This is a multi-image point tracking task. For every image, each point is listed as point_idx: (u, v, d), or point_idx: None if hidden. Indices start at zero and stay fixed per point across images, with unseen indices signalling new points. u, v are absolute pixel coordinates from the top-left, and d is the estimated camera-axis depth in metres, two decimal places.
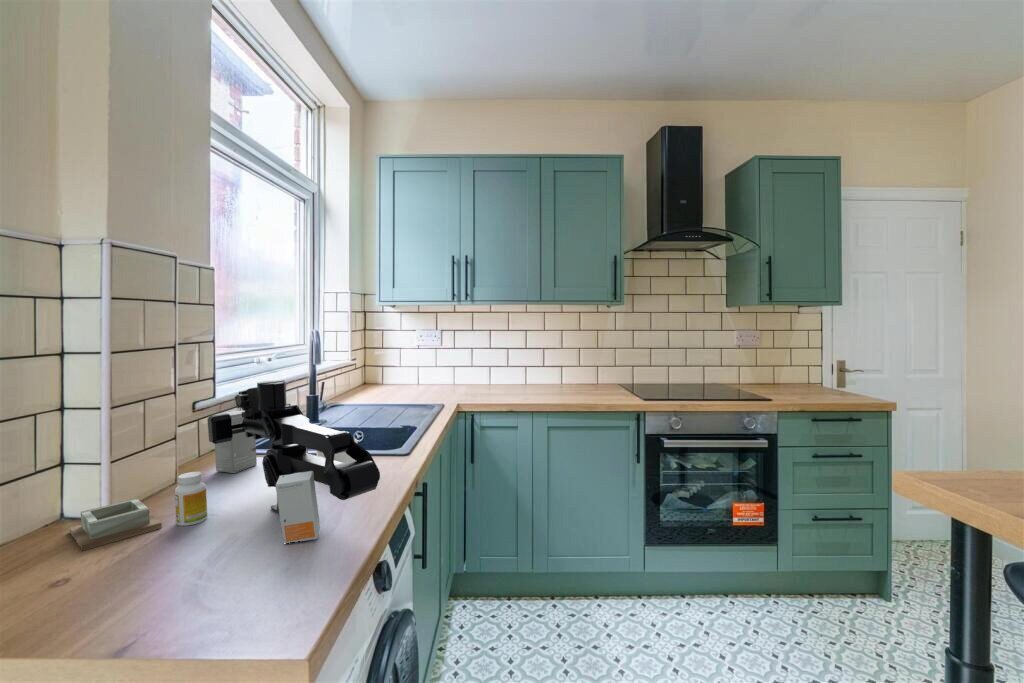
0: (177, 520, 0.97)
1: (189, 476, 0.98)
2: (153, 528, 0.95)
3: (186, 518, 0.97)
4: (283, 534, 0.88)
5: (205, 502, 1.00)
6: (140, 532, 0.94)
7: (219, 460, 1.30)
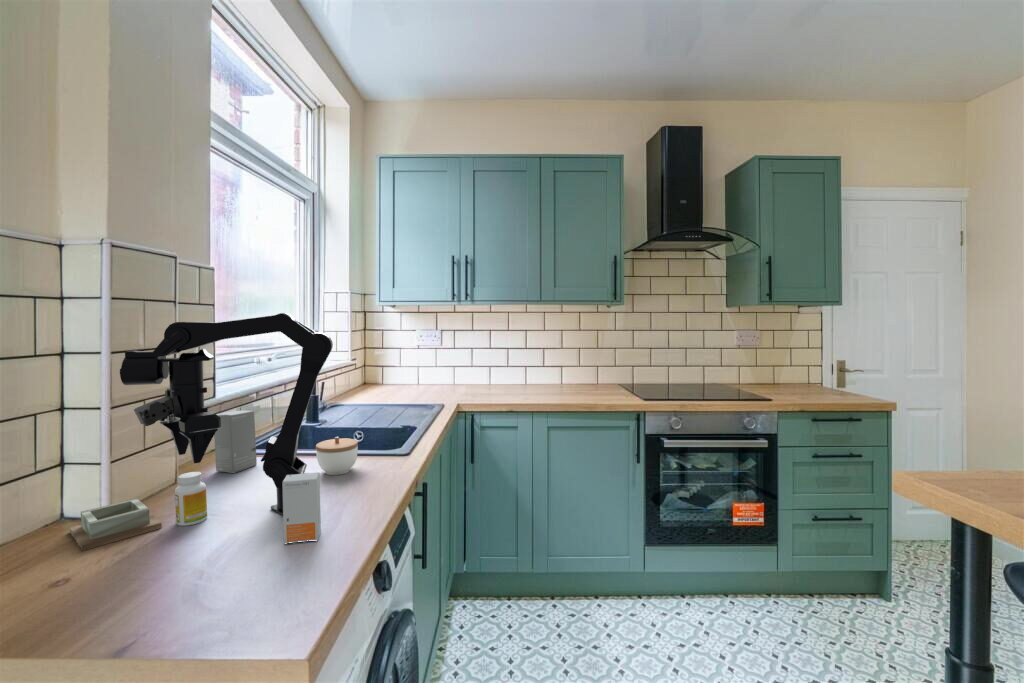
0: (177, 520, 0.97)
1: (189, 476, 0.98)
2: (153, 528, 0.95)
3: (186, 518, 0.97)
4: (284, 533, 0.88)
5: (205, 502, 1.00)
6: (140, 532, 0.94)
7: (219, 460, 1.30)
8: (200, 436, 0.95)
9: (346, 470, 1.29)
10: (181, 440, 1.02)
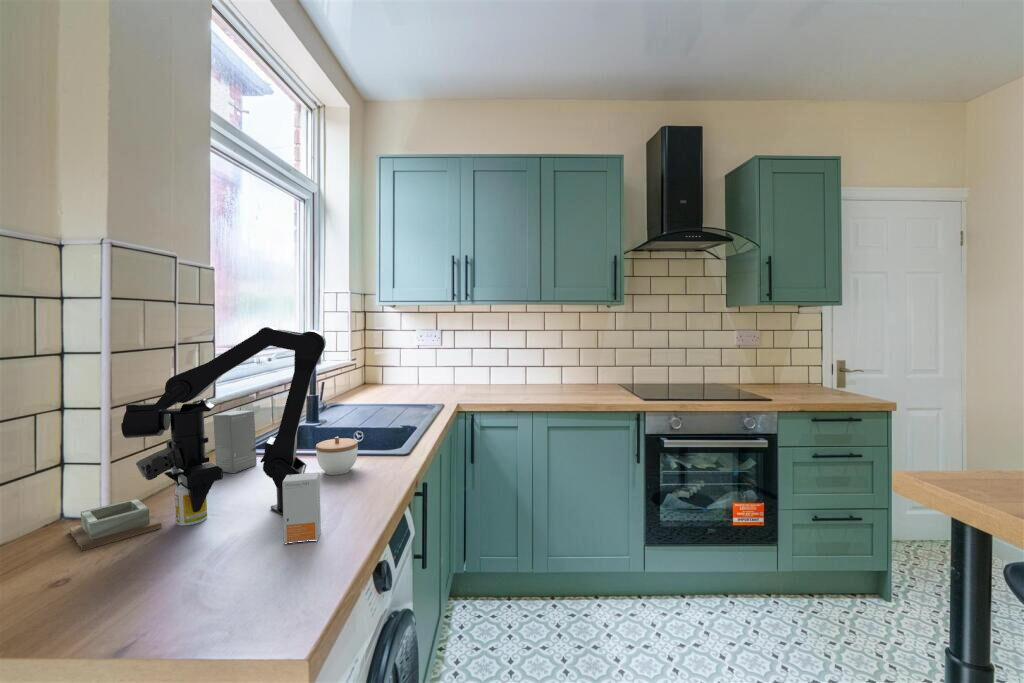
0: (177, 520, 0.97)
1: None
2: (153, 528, 0.95)
3: (186, 518, 0.97)
4: (284, 533, 0.88)
5: (205, 502, 1.00)
6: (140, 532, 0.94)
7: (219, 460, 1.30)
8: (199, 486, 0.97)
9: (346, 470, 1.29)
10: None
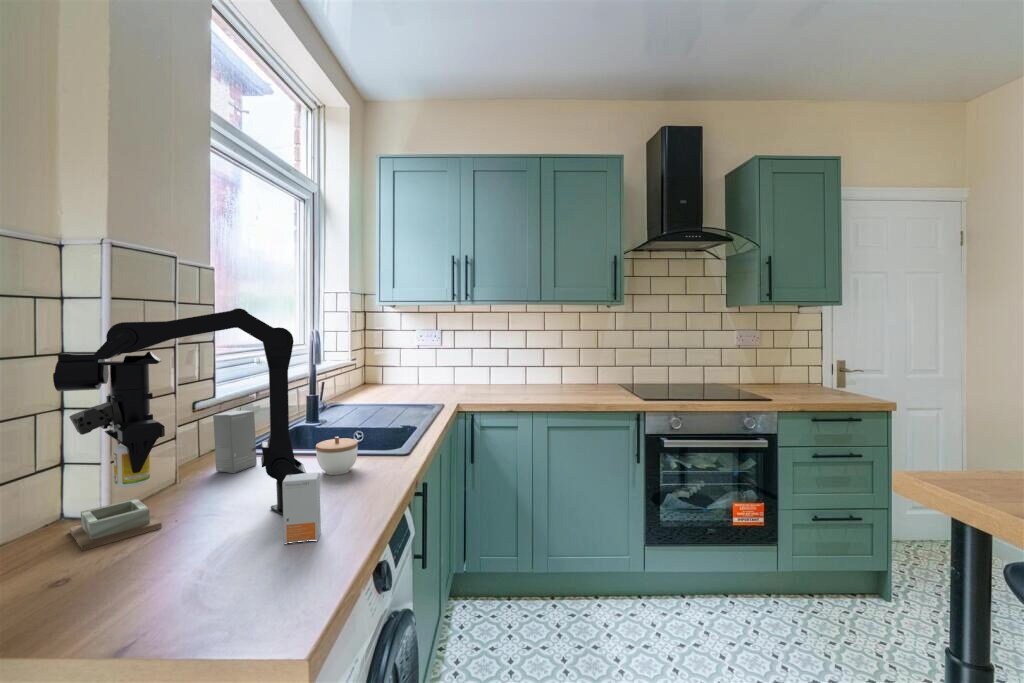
0: (115, 481, 0.90)
1: None
2: (153, 528, 0.95)
3: (124, 479, 0.89)
4: (284, 533, 0.88)
5: (147, 463, 0.92)
6: (140, 532, 0.94)
7: (219, 460, 1.30)
8: (139, 444, 0.89)
9: (346, 470, 1.29)
10: None
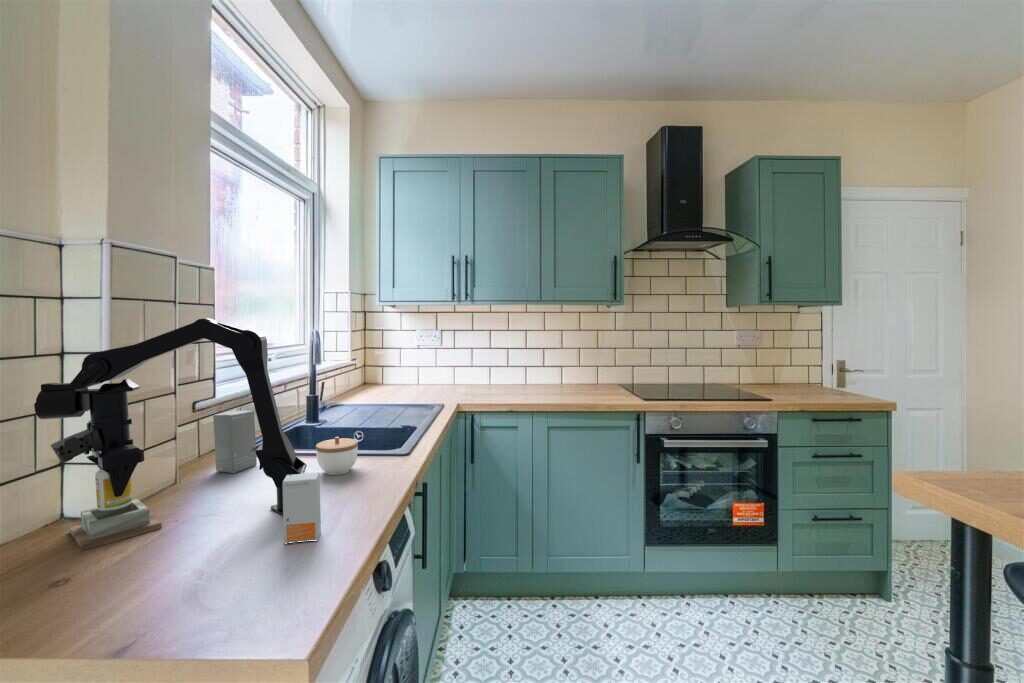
0: (98, 505, 0.93)
1: None
2: (153, 528, 0.95)
3: (106, 503, 0.93)
4: (284, 533, 0.88)
5: (129, 486, 0.96)
6: (140, 532, 0.94)
7: (219, 460, 1.30)
8: (120, 469, 0.93)
9: (346, 470, 1.29)
10: None
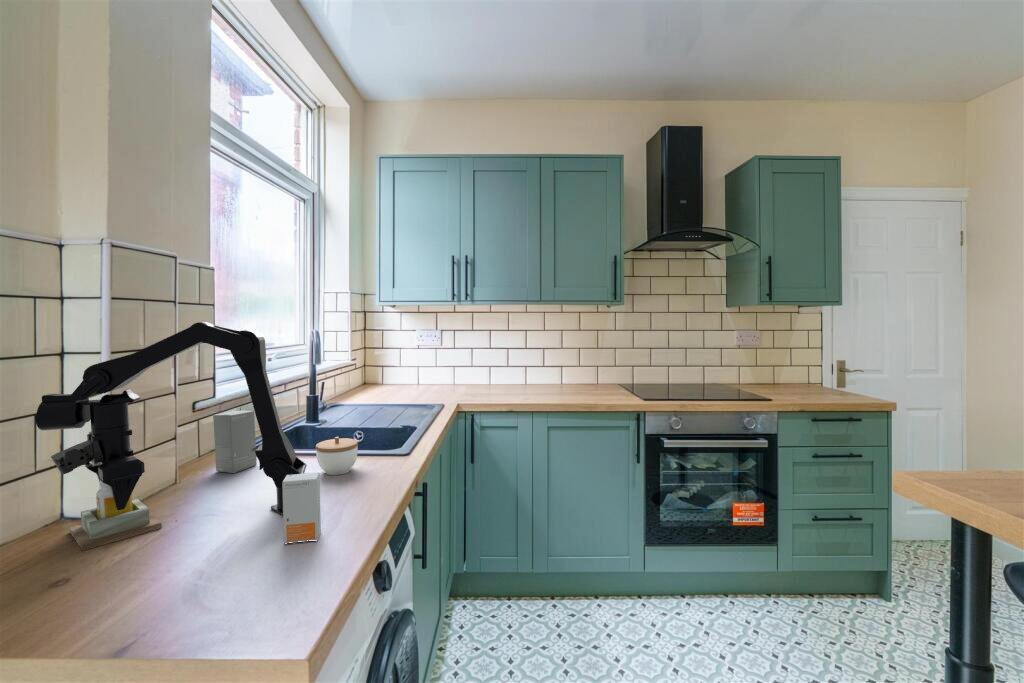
0: None
1: None
2: (153, 528, 0.95)
3: None
4: (284, 533, 0.88)
5: (130, 505, 0.96)
6: (140, 532, 0.94)
7: (219, 460, 1.30)
8: (123, 482, 0.92)
9: (346, 470, 1.29)
10: None
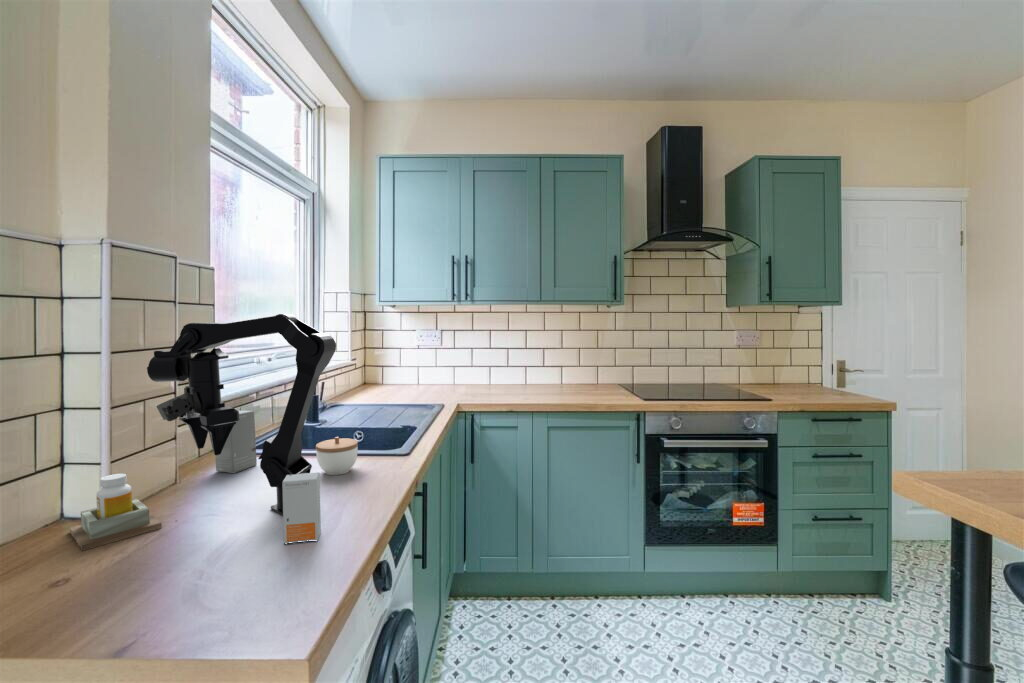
0: None
1: (112, 478, 0.94)
2: (153, 528, 0.95)
3: None
4: (284, 533, 0.88)
5: (130, 505, 0.96)
6: (140, 532, 0.94)
7: (219, 460, 1.30)
8: (220, 429, 1.02)
9: (346, 470, 1.29)
10: (199, 434, 1.08)
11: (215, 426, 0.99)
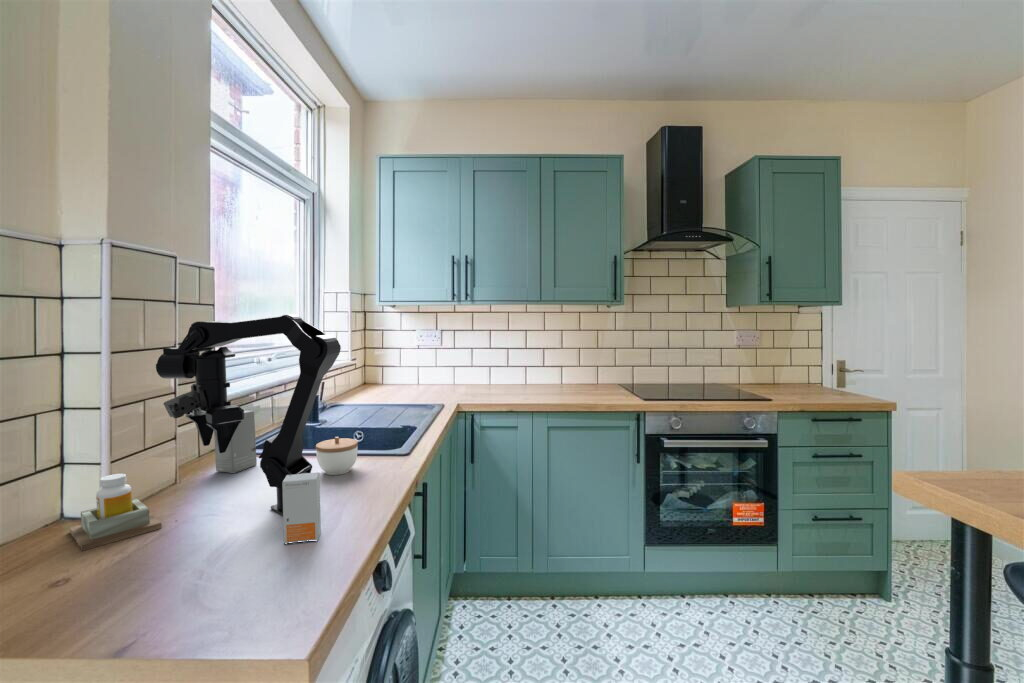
0: None
1: (111, 478, 0.94)
2: (153, 528, 0.95)
3: None
4: (284, 533, 0.88)
5: (130, 505, 0.96)
6: (140, 532, 0.94)
7: (219, 460, 1.30)
8: (225, 427, 1.02)
9: (346, 470, 1.29)
10: (205, 432, 1.09)
11: (220, 424, 1.00)
